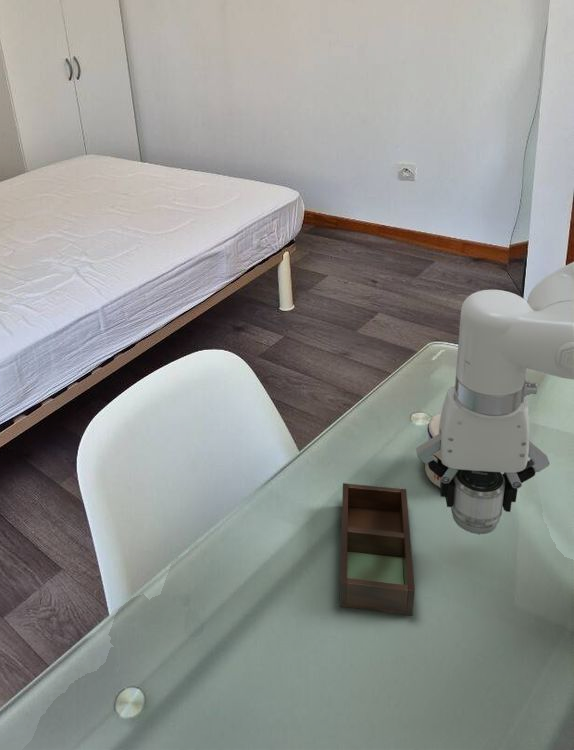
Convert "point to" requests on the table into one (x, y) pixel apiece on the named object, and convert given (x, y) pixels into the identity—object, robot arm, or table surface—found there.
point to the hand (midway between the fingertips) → (476, 500)
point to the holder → (376, 550)
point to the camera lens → (478, 500)
